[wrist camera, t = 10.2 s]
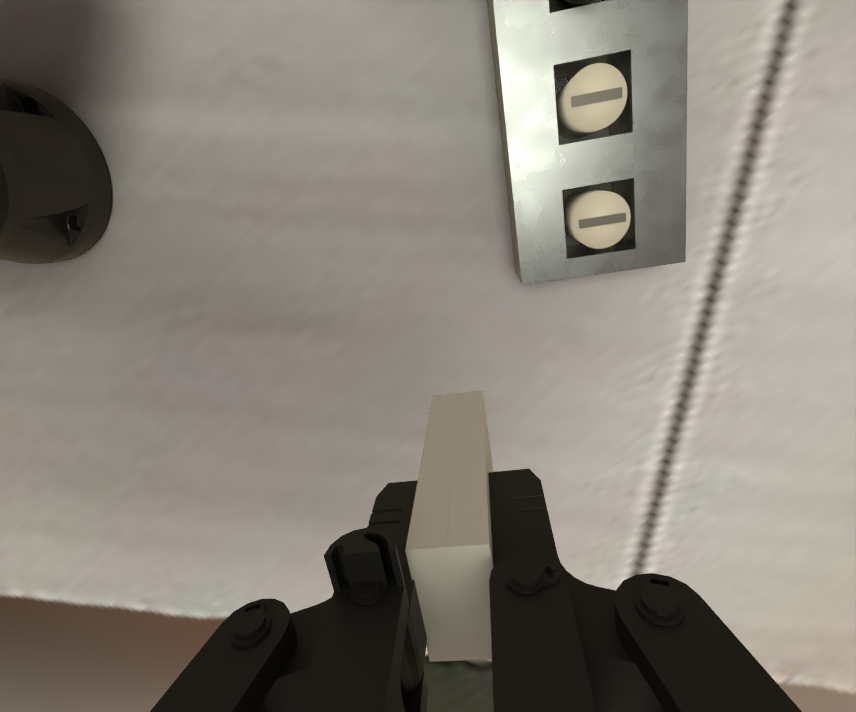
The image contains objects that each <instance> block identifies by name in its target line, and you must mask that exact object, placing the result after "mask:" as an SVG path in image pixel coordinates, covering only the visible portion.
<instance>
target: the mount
mask: <svg viewBox="0 0 856 712" xmlns="http://www.w3.org/2000/svg"><path fill="white" fill-rule="evenodd" d="M487 5H488V14H489V24H490V33H491V43H492V52H493V62H494V71H495V81H496V90H497V100H498V109H499V119H500V128H501V138H502V147H503V157H504V166H505V176H506V185H507V194H508V204H509V213H510V223H511V232H512V242H513V251H514V261H515V270H516V273H517V275H518V278H519V280H520V282H521V284H522V285H526V284H533V283H540V282H547V281H554V280H561V279H568V278H575V277H582V276H589V275H596V274H603V273H610V272H617V271H624V270H631V269H638V268H645V267H652V266H659V265H666V264H673V263H680V262H685V245H686V138H687V31H688V0H605V1H603V2H598V3H593V4H589V5H584V6H580V7H575V8H570V9H566V10H561V11H557V12H552V13H550V12H549V0H487ZM595 63H605V64H609V65H612V66H614V67H615V68H616V69H618V70H619V71H620V72H621V74H622V75H623V77H624V79H625V81H626V85H627V100H626V104H625V107H624V109H623V111H622V113H621V114H620V116H619V117H618V118H617V119H616V120H615V121H614V122H613V123H612V124H610V125H609V130H610V136H608V137H603V138H597V139H591V140H586V141H580V142H575V143H569V144H564V145H559V140H558V126H557V112H556V98H555V83H554V79H559V78H564V77H569V76H574V75H576V74H577V73H578V72H579V71H580V70H581V69H583V68H584V67H586V66H588V65H591V64H595ZM606 182H611V183H612V192H614V193H616V194H618V195H620V196H621V197H622V198H623V199H624V200H625V201H626V202H627V204H628V206H629V209H630V214H631V220H630V225H629V228H628V230H627V232H626V234H625V235H624V236H623V238H622V239H621V240H620V241H618V242H617V243H616V244H614V245H612V246H610V247H607V248H602V249H595V248H591V247H588V246H586V245H584V244H580V245H573V246H567V247H566V240H565V226H564V212H563V197H562V190H565V189H571V188H577V187H583V186H589V185H594V184H600V183H606Z"/></svg>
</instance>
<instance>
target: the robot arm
mask: <svg viewBox="0 0 856 712" xmlns="http://www.w3.org/2000/svg"><path fill="white" fill-rule="evenodd" d="M111 197H112V195H111V183H110V178H109V173H108V169H107V166H106V163H105V160H104V158H103V155H102V153H101V151H100V148H99V147H98V145H97V143H96V141H95V139H94V138H93V136H92V135H91V133H90V132H89V130H88V129H87V127H86V126H85V125H84V124H83V122H82V121H81V120H80V119H79V118H78V117H77V116H76V115H75V114H74V113H73V112H72V111H71V110H70V109H69V108H68V107H67V106H66V105H64V104H63V103H62V102H60V101H59V100H58V99H56V98H55V97H53V96H51V95H50V94H48V93H46V92H44V91H42V90H40V89H38V88H35V87H32V86H29V85H25V84H21V83H16V82H12V81H7V80H2V79H0V259H3V260H9V261H15V262H20V263H28V264H43V263H51V262H56V261H61V260H66V259H70V258H73V257H76V256H78V255H80V254H82V253H84V252H86V251H87V250H88V249H90V248H91V247H92V246H93V245H94V244H95V243H96V242H97V241H98V239H99V238H100V237H101V235H102V233H103V232H104V230H105V227H106V225H107V222H108V219H109V215H110V210H111ZM372 512H373V513H372V514H371V517H370V520H369V526H368V527H367V528H364V529H359V530H354V531H352V532H350V533H348V534H346V535H343V536H341V537H340V538H339V539H337V540H336V541H335V542H334V543H333V544H331V545H330V547H329V548H328V550H327V551H326V553H325V555H324V558H325V561H326V565H327V568H328V572H329V575H330V578H331V582H332V585H333V589H334V594H333V597H332V598H330V599H328V600H327V601H325V602H322V603H320V604H318V605H315V606H312V607H309V608H306V609H303V610H300V611H297V612H294V613H291V614H290V612H289V610H288V608H287V607H286V605H285V604H284V603H283V602H281V601H278V600H276V599H260V600H257V601H254V602H251V603H248V604H246V605H244V606H243V607H241V608H239V609H238V610H236V611H234V612H233V613H232V614H231V615H230V616H229V617H228V618H227V619H226V620H225V621H224V622H223V623H222V624H221V625H220V626H219V628H218V629H217V630H216V631H215V633H214V634H213V635H212V636H211V637H210V639H209V640H208V641H207V642H206V643H205V645H204V646H203V647H202V648H201V650H200V651H199V652H198V654H197V655H196V656H195V657H194V658H193V660H192V661H191V662H190V663H189V664H188V666H187V667H186V668H185V669H184V671H183V672H182V673H181V674H180V675H179V677H178V678H177V679H176V680H175V682H174V683H173V684H172V685H171V687H170V688H169V689H168V690H167V691H166V693H165V694H164V695H163V697H162V698H161V699H160V700H159V701H158V703H157V704H156V705H155V706H154V707H153V709H152V710H151V711H150V712H426V708H427V696H428V686H427V678H426V673H425V669H424V661H425V651H426V646H427V650H428V655H429V659H430V661H455V660H480V659H492V673H493V699H494V712H801V710H799V708H798V707H797V706H796V705H795V704H794V702H793V701H792V700H791V699H790V698H789V697H788V695H787V694H786V693H785V692H784V691H783V690H782V689H781V688H780V686H779V685H778V684H777V683H776V682H775V681H774V680H773V678H772V677H771V676H770V675H769V674H768V673H767V672H766V670H765V669H764V668H763V667H762V666H761V665H760V664H759V663H758V661H757V660H756V659H755V658H754V657H753V656H752V655H751V653H750V652H749V651H748V650H747V649H746V648H745V647H744V645H743V644H742V643H741V642H740V641H739V640H738V639H737V638H736V636H735V635H734V634H733V633H732V632H731V631H730V630H729V628H728V627H727V626H726V625H725V624H724V623H723V622H722V620H721V619H720V618H719V617H718V616H717V615H716V614H715V613H714V611H713V610H712V609H711V608H710V607H709V606H708V605H707V603H706V602H705V601H704V600H703V599H702V598H701V597H700V595H698V594H697V593H696V592H695V591H694V590H692V589H691V588H690V587H689V586H688V585H686V584H685V583H683V582H680V581H678V580H676V579H674V578H672V577H669V576H664V575H659V574H653V573H650V574H639V575H635V576H633V577H631V578H628V579H626V580H624V581H623V582H622V584H621V585H620V586H619V587H618V589H617V590H616V591H615V590H610V589H605V588H601V587H596V586H593V585H590V584H586V583H584V582H582V581H580V580H578V579H576V578H575V577H573V576H572V575H571V574H570V573H568V572H567V571H566V570H565V568H564V567H563V566H562V565H561V563H560V561H559V558H558V555H557V551H556V547H555V542H554V538H553V533H552V529H551V524H550V520H549V516H548V511H547V507H546V502H545V498H544V494H543V489H542V485H541V480H540V479H539V478H538V477H537V476H536V475H535V474H534V473H533V472H532V471H531V470H530V469H522V470H511V471H500V472H493V464H492V457H491V450H490V443H489V436H488V429H487V421H486V414H485V407H484V400H483V393H482V390H481V391H473V392H464V393H455V394H447V395H438V396H433V400H432V405H431V411H430V416H429V422H428V427H427V433H426V438H425V444H424V449H423V455H422V460H421V466H420V472H419V477H418V481H407V482H396V483H388V484H387V485H386V487H385V488H384V489H383V490H382V491H381V492H380V493H379V494H378V496H377V497H376V501H375V504H374V507H373V510H372Z"/></svg>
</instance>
